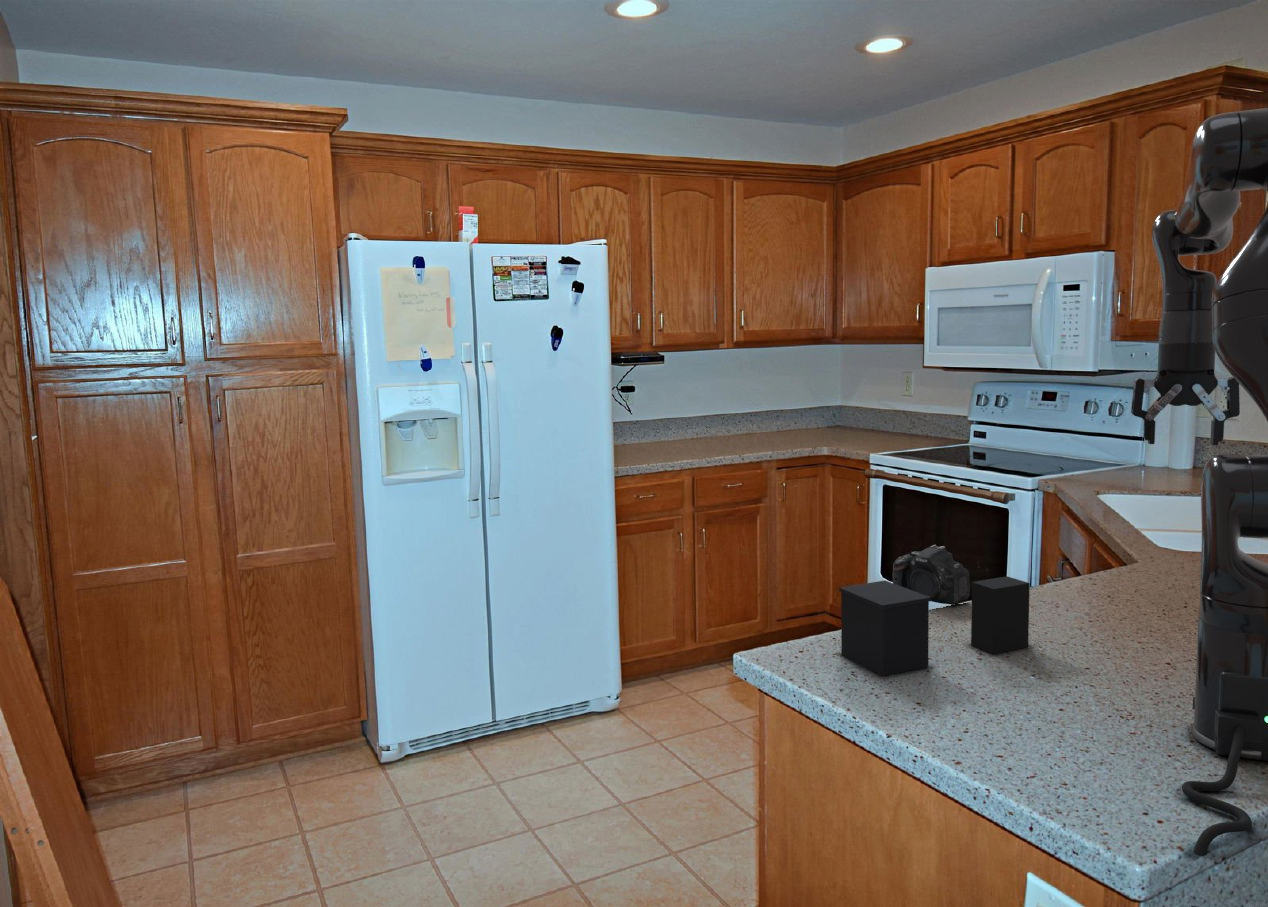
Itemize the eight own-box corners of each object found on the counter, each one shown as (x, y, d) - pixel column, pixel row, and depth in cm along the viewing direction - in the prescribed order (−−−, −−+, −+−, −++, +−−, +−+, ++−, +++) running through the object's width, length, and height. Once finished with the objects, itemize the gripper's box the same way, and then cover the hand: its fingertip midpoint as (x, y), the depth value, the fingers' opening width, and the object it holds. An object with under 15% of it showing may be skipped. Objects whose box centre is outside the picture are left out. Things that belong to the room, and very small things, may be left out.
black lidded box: (930, 667, 128) (931, 597, 126) (882, 677, 125) (882, 605, 123) (884, 645, 137) (885, 580, 136) (839, 654, 134) (839, 587, 133)
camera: (886, 603, 159) (886, 549, 158) (897, 589, 168) (898, 537, 166) (965, 611, 153) (965, 555, 152) (972, 596, 161) (973, 542, 160)
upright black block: (1028, 647, 135) (1029, 583, 133) (992, 654, 132) (993, 589, 131) (1006, 638, 139) (1007, 576, 138) (970, 645, 136) (971, 582, 135)
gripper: (1137, 342, 136) (1133, 446, 138) (1247, 339, 131) (1241, 447, 133) (1131, 341, 143) (1128, 441, 145) (1236, 338, 138) (1230, 442, 140)
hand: (1182, 444), depth 139 cm, fingers open, 8 cm apart
